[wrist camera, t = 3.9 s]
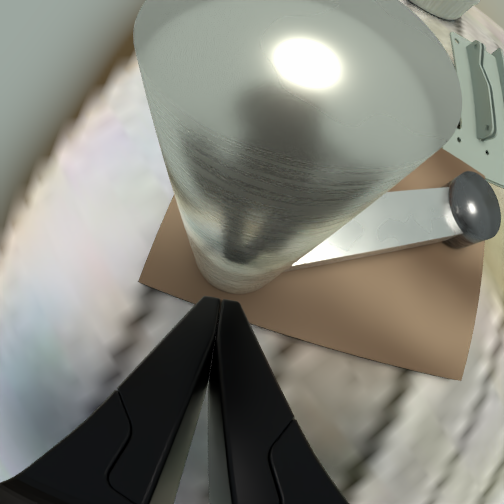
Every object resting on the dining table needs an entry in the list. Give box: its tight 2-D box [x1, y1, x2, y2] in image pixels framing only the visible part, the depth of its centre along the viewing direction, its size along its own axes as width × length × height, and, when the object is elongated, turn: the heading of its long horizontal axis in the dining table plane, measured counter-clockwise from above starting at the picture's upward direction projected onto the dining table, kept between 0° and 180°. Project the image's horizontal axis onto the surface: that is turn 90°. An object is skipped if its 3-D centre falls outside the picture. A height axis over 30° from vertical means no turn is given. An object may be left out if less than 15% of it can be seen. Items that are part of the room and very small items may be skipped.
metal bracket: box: [441, 32, 504, 188], centre depth 19 cm, size 14×6×15 cm
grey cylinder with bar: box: [134, 0, 501, 294], centre depth 9 cm, size 16×4×11 cm, turn 100°
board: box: [138, 148, 485, 381], centre depth 15 cm, size 13×17×1 cm
